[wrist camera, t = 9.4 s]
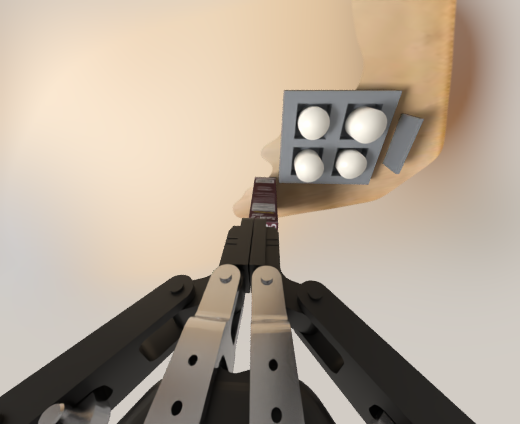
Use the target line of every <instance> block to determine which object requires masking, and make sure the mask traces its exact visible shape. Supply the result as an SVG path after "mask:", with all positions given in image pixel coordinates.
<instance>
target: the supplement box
mask: <svg viewBox="0 0 520 424" xmlns="http://www.w3.org/2000/svg"><path fill="white" fill-rule="evenodd" d="M249 218H254V221H255V218H265V219H266V227H275V228H276V230H277V231H278V214H277V195H276V178H266V177H255V180H254V187H253V194H252V201H251V207H250V214H249Z"/></svg>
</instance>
